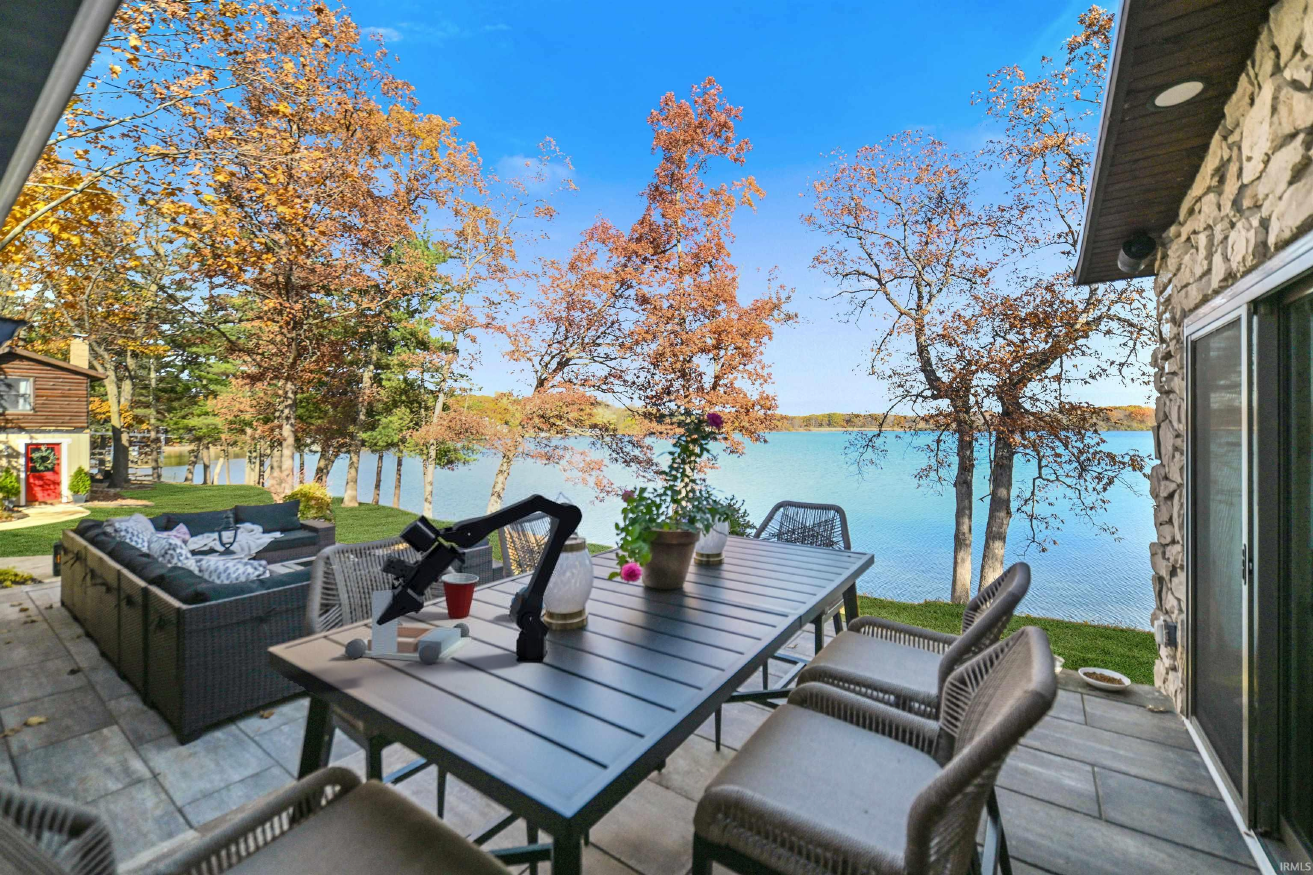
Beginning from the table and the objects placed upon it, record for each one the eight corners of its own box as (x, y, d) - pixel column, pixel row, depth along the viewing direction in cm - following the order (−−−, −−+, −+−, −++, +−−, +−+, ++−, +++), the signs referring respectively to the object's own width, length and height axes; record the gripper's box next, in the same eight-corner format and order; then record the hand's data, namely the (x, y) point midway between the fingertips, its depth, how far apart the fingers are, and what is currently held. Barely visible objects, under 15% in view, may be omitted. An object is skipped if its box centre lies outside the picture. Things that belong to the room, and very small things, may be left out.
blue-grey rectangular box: (396, 644, 127) (397, 589, 127) (397, 651, 123) (398, 594, 123) (371, 647, 125) (372, 591, 125) (371, 655, 121) (372, 597, 121)
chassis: (473, 640, 150) (474, 623, 150) (441, 665, 133) (441, 646, 133) (383, 634, 153) (383, 617, 153) (339, 657, 136) (340, 639, 136)
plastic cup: (471, 622, 164) (472, 581, 165) (434, 621, 165) (435, 580, 165) (483, 611, 175) (484, 572, 175) (448, 610, 175) (449, 571, 176)
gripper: (403, 536, 134) (350, 587, 129) (407, 550, 118) (346, 609, 113) (438, 566, 138) (387, 617, 133) (447, 584, 121) (389, 642, 116)
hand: (377, 620), depth 123 cm, fingers closed on blue-grey rectangular box, 5 cm apart
